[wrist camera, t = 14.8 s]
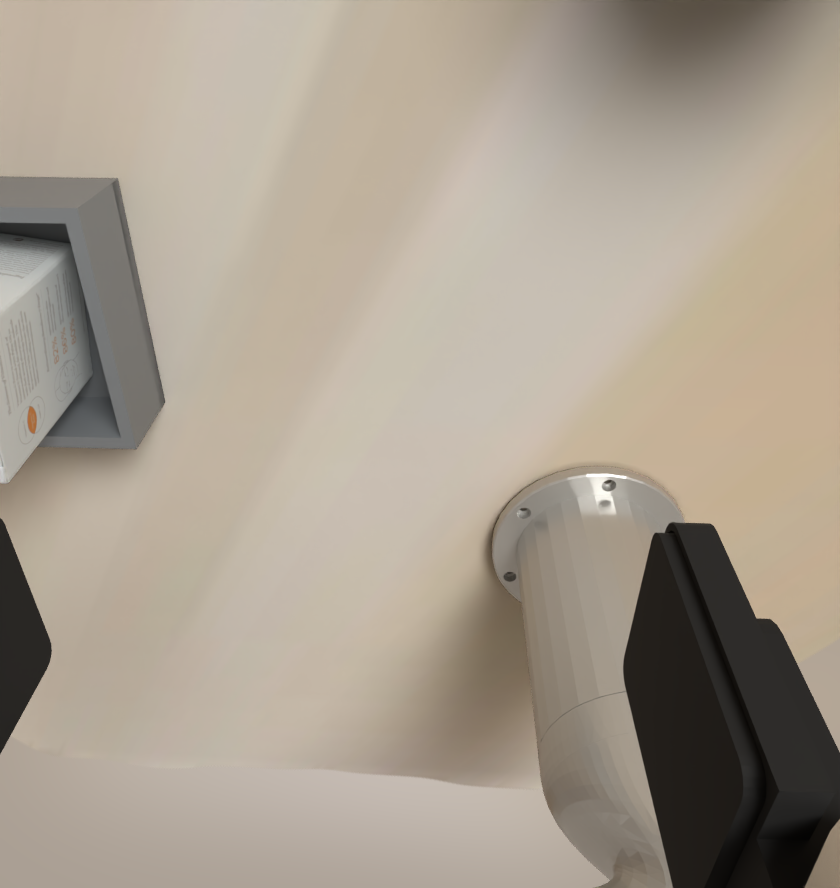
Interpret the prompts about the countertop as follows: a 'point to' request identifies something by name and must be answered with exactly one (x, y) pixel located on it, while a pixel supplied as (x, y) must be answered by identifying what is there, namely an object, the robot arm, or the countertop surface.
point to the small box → (38, 343)
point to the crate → (95, 305)
